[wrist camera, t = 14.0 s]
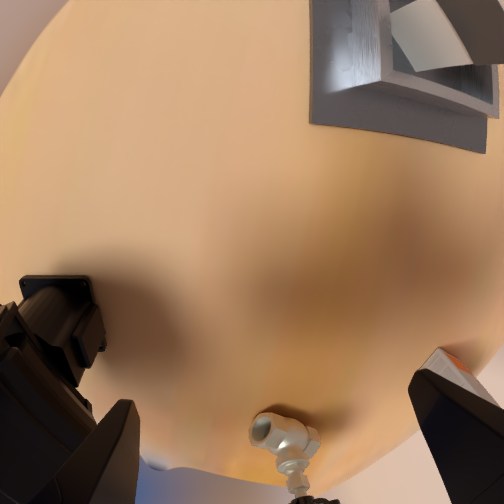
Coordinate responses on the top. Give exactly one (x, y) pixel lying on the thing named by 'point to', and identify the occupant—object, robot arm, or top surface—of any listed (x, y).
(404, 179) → the top surface
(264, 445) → the valve
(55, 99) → the top surface
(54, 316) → the robot arm
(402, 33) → the plug
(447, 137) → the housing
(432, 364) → the skincare box
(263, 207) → the top surface
